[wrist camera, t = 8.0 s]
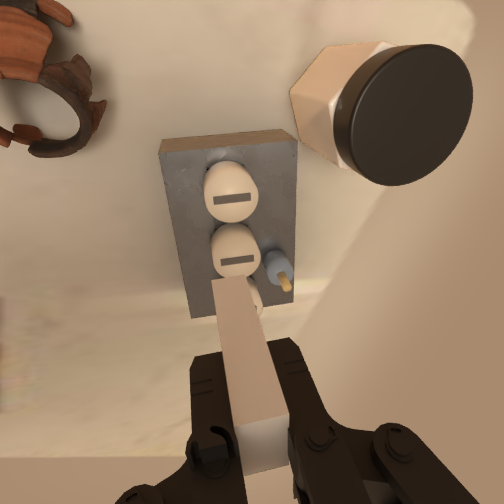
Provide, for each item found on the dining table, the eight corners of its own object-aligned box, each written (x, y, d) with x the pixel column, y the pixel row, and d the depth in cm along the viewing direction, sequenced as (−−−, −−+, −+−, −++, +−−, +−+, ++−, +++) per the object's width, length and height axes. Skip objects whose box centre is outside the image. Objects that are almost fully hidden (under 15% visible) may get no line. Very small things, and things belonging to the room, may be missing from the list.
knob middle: (209, 238, 34) (216, 283, 27) (204, 204, 32) (210, 243, 25) (246, 234, 35) (261, 276, 28) (244, 199, 32) (260, 236, 26)
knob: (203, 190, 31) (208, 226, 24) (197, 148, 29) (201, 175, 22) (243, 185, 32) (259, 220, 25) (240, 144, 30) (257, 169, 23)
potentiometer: (263, 272, 32) (273, 301, 28) (262, 251, 30) (273, 278, 27) (286, 268, 32) (300, 296, 28) (286, 248, 31) (301, 274, 27)
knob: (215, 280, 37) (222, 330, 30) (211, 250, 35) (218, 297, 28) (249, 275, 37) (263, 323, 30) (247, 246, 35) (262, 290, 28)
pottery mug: (117, 17, 24) (117, 86, 20) (95, 115, 31) (92, 181, 27) (-116, -95, 17) (-181, -23, 14) (-79, 61, 24) (-116, 138, 20)
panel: (190, 289, 37) (191, 318, 33) (162, 139, 28) (158, 153, 24) (281, 276, 39) (293, 302, 34) (281, 129, 30) (297, 140, 26)
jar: (326, 167, 33) (390, 214, 22) (270, 110, 29) (317, 137, 19) (394, 93, 30) (501, 110, 20) (343, 21, 26) (442, -3, 16)
